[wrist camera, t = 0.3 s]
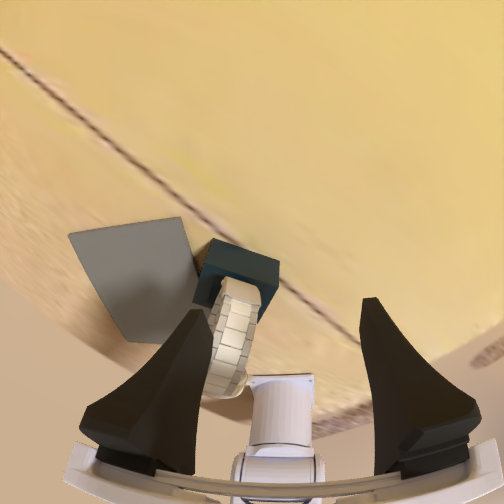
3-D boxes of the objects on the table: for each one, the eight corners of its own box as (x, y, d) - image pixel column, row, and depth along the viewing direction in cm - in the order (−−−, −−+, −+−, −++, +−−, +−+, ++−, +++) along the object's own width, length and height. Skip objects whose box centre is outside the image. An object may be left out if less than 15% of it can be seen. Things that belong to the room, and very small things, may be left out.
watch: (195, 292, 26) (161, 399, 18) (219, 219, 22) (176, 336, 13) (254, 311, 27) (239, 421, 18) (289, 244, 23) (289, 369, 14)
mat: (223, 342, 30) (222, 345, 30) (128, 339, 32) (127, 341, 32) (180, 216, 22) (178, 219, 22) (69, 233, 24) (67, 235, 24)
